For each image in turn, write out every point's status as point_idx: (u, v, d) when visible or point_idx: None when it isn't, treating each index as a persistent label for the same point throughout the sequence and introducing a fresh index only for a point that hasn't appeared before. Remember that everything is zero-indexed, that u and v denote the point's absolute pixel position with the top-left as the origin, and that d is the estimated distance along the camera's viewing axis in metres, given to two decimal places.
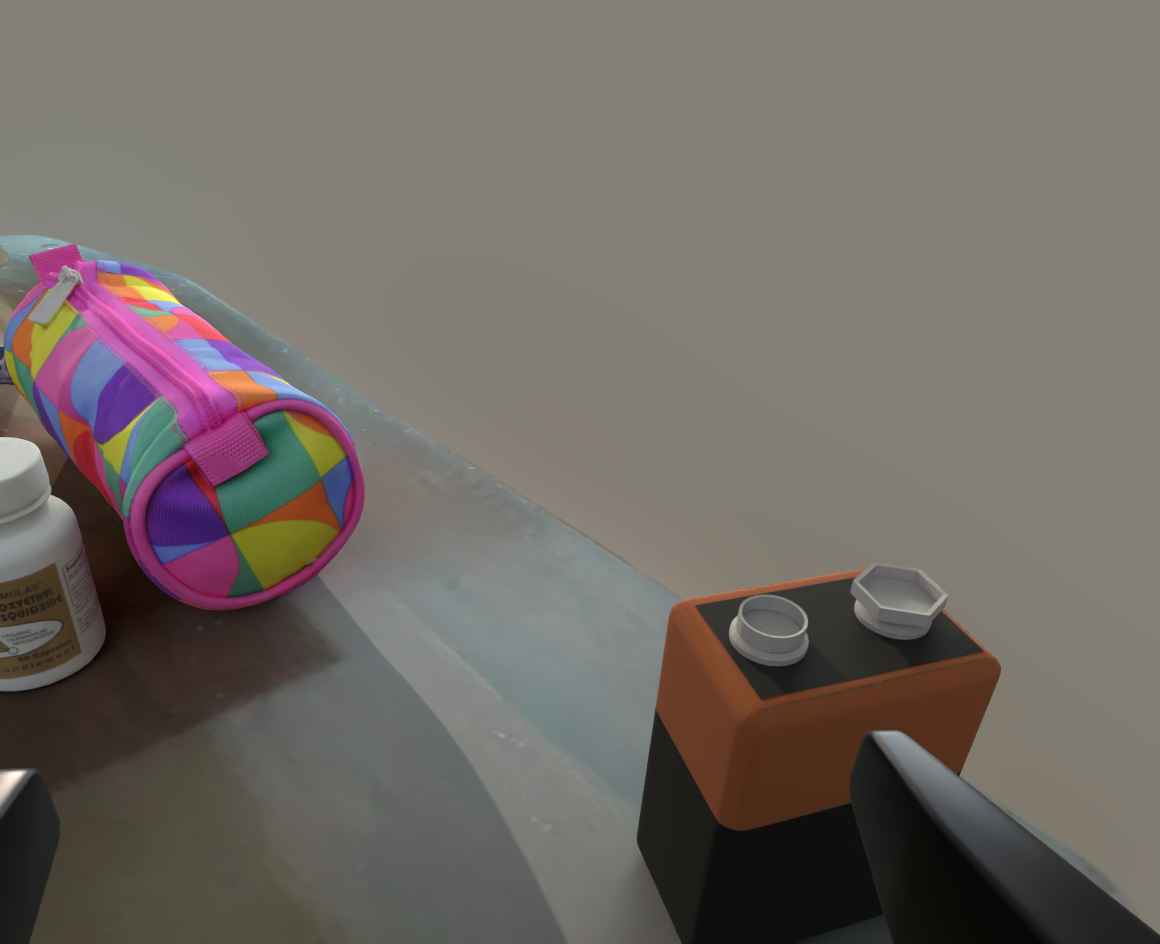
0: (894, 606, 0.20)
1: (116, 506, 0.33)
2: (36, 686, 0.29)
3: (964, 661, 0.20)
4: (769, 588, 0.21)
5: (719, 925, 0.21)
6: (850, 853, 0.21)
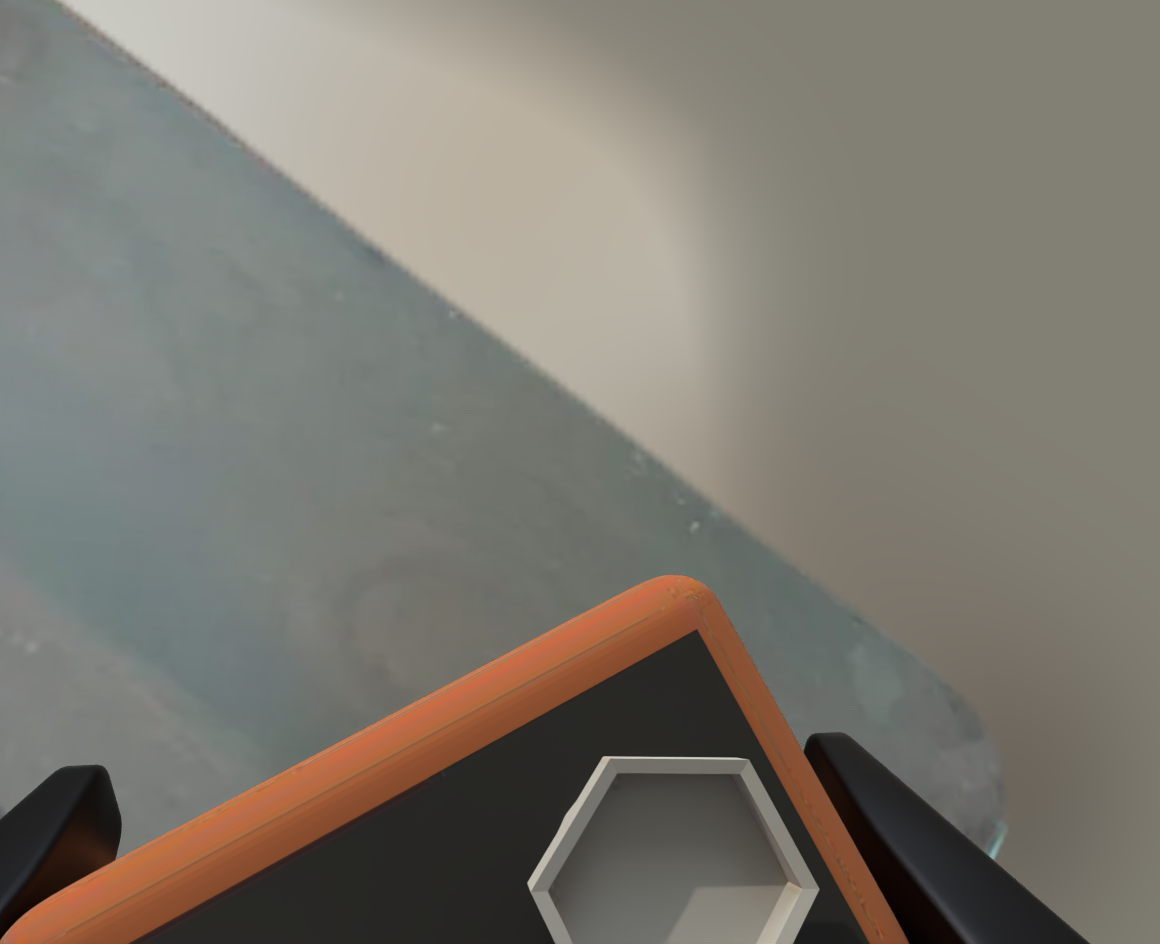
0: (654, 926, 0.07)
1: None
2: None
3: None
4: (299, 825, 0.07)
5: None
6: None
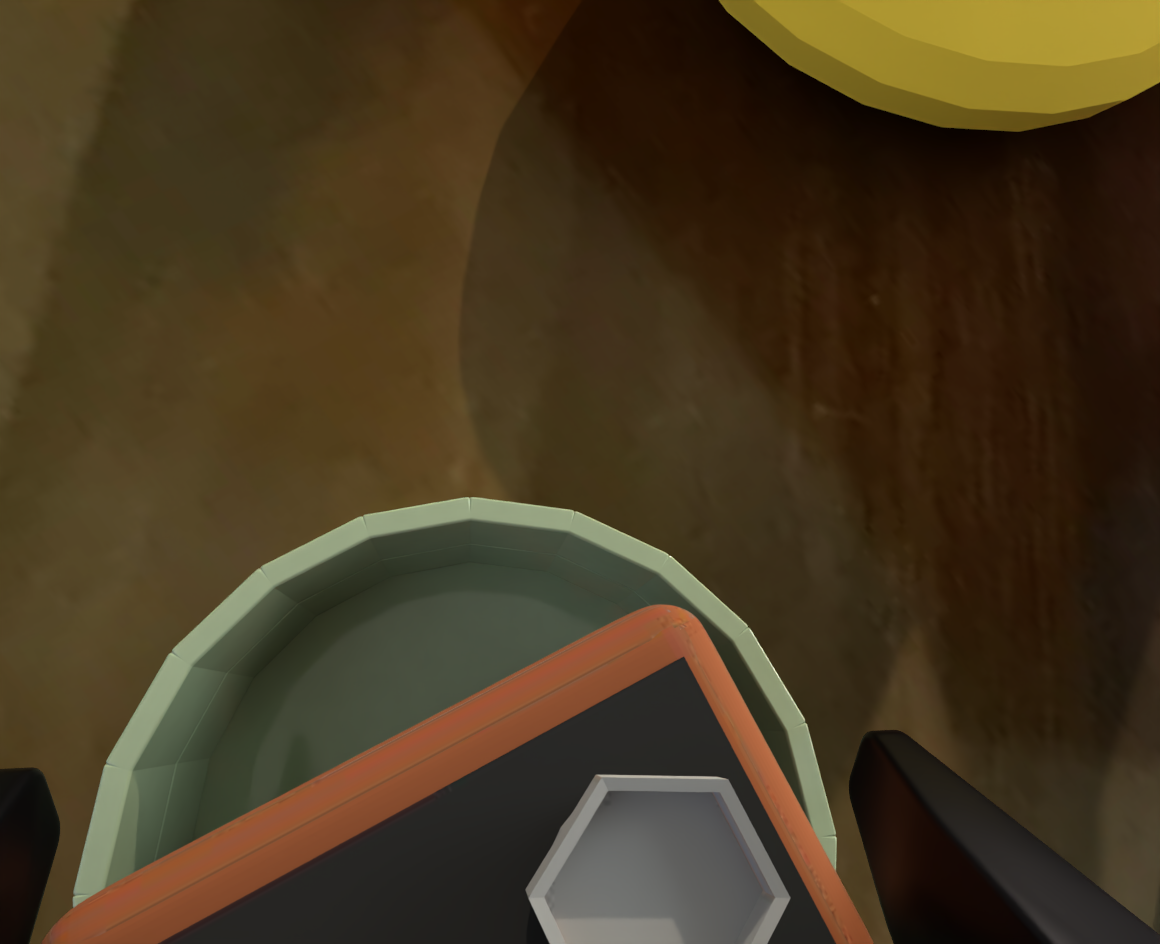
0: (640, 930, 0.07)
1: None
2: None
3: None
4: (318, 834, 0.08)
5: None
6: None
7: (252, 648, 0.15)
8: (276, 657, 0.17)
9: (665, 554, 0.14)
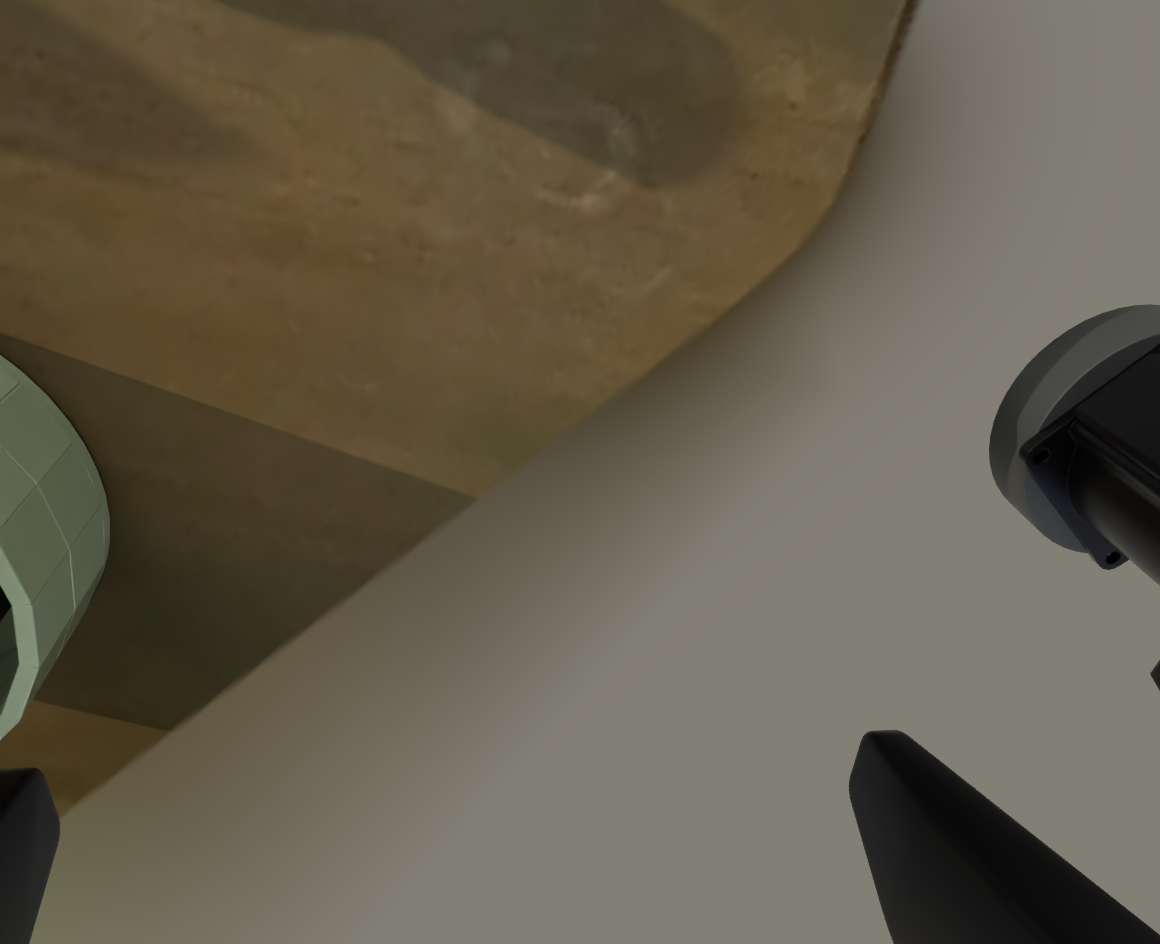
0: None
1: None
2: None
3: None
4: None
5: None
6: None
7: None
8: None
9: None
